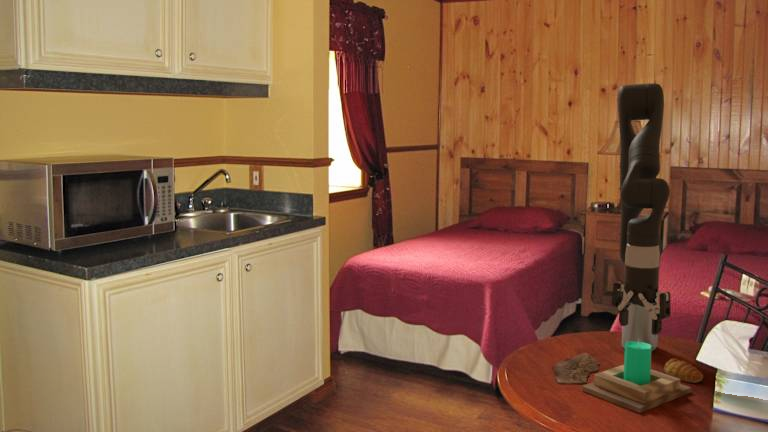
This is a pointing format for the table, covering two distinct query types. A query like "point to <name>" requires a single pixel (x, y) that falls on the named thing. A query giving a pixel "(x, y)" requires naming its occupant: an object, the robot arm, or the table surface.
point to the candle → (637, 362)
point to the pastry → (683, 371)
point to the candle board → (630, 401)
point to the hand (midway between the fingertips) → (639, 329)
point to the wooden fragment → (575, 369)
